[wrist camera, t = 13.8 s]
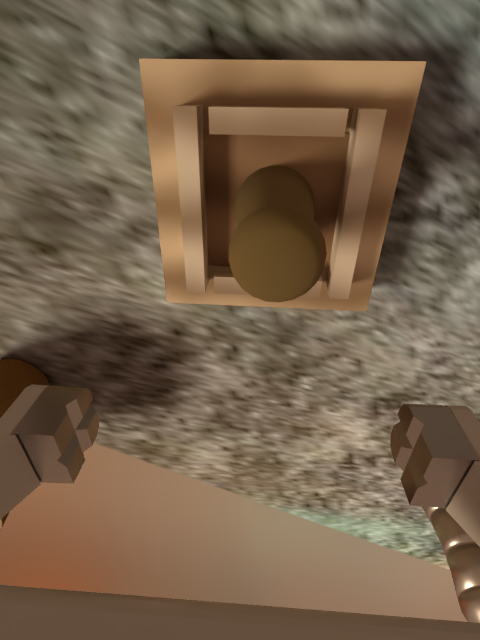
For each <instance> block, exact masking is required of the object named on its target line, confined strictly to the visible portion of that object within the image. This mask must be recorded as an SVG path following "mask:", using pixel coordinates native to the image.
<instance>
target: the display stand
mask: <svg viewBox="0 0 480 640" xmlns="http://www.w3.org/2000/svg"><path fill="white" fill-rule="evenodd" d="M139 63H140V71H141V80H142V89H143V97H144V106H145V115H146V123H147V132H148V141H149V149H150V158H151V167H152V175H153V184H154V193H155V201H156V210H157V219H158V227H159V236H160V245H161V253H162V262H163V271H164V279H165V288H166V297H167V302H172V303H194V304H217V305H239V306H262V307H284V308H306V309H329V310H351V311H367V307H368V303H369V298H370V294H371V290H372V286H373V282H374V278H375V273H376V269H377V265H378V261H379V257H380V253H381V249H382V244H383V240H384V236H385V232H386V228H387V224H388V219H389V215H390V211H391V207H392V203H393V199H394V194H395V190H396V186H397V182H398V178H399V174H400V169H401V165H402V161H403V157H404V153H405V149H406V145H407V140H408V136H409V132H410V128H411V124H412V120H413V115H414V111H415V107H416V103H417V99H418V95H419V90H420V86H421V82H422V78H423V74H424V70H425V65H426V61H335V60H223V59H139ZM272 165H273V166H286V167H288V168H290V169H293V170H295V171H297V172H298V173H300V174H301V175H302V176H303V177H304V178H305V179H306V180H307V182H308V183H309V185H310V187H311V189H312V191H313V196H314V202H315V210H314V221H315V222H316V223H317V225H318V227H319V228H320V230H321V232H322V234H323V236H324V238H325V244H326V251H327V255H326V260H325V266H324V270H323V272H322V274H321V276H320V278H319V280H318V281H317V283H316V284H315V285H314V286H313V287H312V288H311V289H310V290H309V291H308V292H307V293H306V294H304V295H302V296H300V297H298V298H296V299H294V300H289V301H284V302H267V301H263V300H260V299H258V298H255V297H252V296H251V295H250V294H248V293H247V292H246V291H244V290H243V289H242V288H241V287H240V285H239V284H238V282H237V281H236V280H235V278H234V276H233V274H232V270H231V267H230V264H229V245H230V242H231V239H232V236H233V234H234V231H235V229H236V227H237V221H236V215H235V199H236V196H237V193H238V191H239V188H240V186H241V185H242V184H243V182H244V181H245V180H246V178H247V177H248V176H249V175H251V174H252V173H254V172H255V171H257V170H258V169H261V168H264V167H268V166H272Z"/></svg>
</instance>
